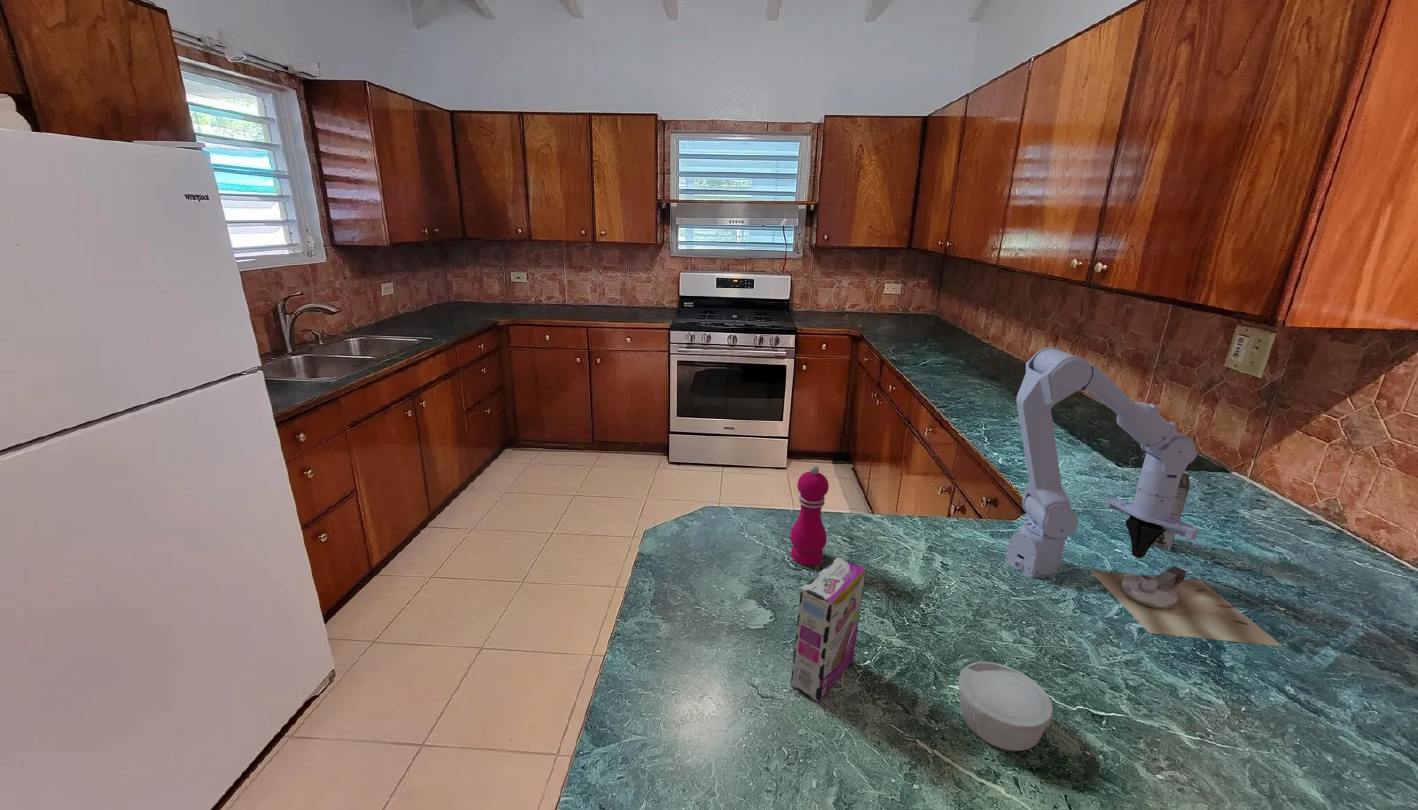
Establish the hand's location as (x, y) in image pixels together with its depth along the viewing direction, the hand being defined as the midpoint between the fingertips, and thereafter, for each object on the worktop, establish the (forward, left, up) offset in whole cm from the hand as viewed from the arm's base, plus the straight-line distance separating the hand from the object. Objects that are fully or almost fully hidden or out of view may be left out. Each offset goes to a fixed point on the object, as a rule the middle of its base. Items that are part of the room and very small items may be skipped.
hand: (1138, 555), depth 107 cm
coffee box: (+18, +7, -5) cm, 20 cm away
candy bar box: (-72, +1, -5) cm, 72 cm away
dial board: (-4, -9, -5) cm, 11 cm away
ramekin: (-55, -15, -5) cm, 57 cm away
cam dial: (-3, -6, -3) cm, 7 cm away
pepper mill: (-57, +29, -5) cm, 64 cm away
